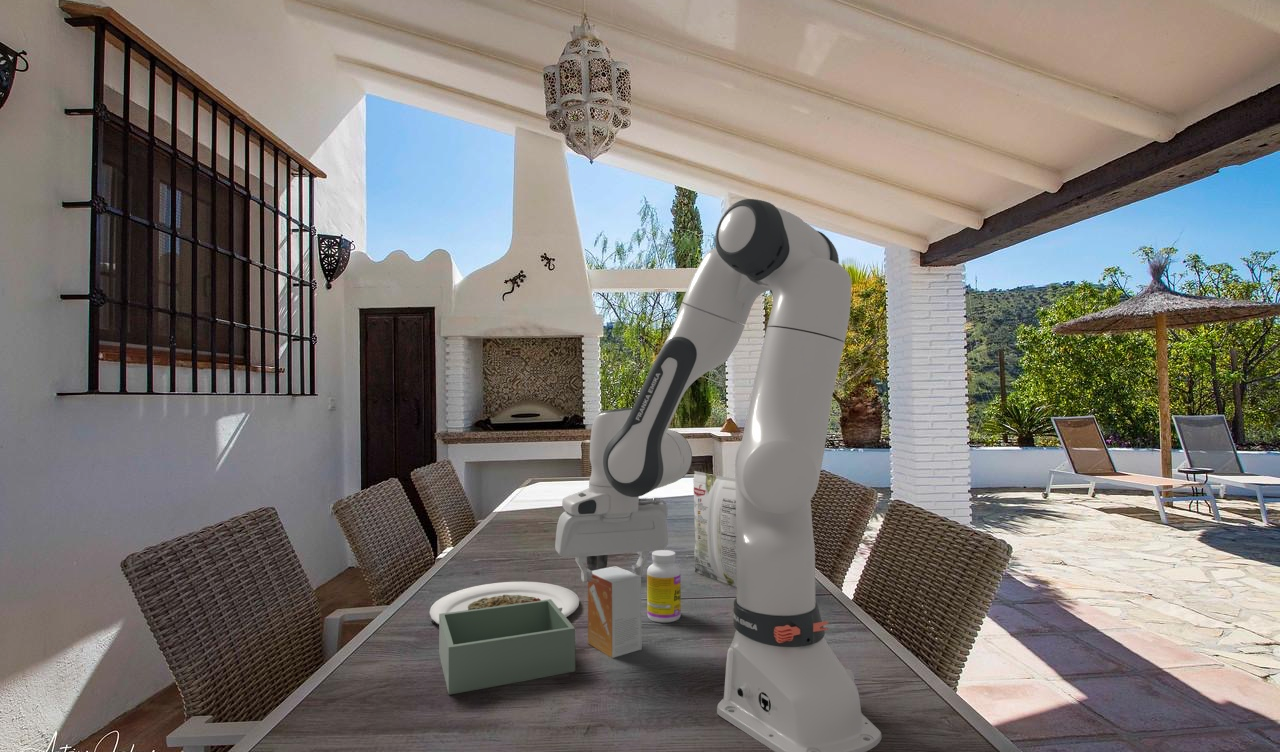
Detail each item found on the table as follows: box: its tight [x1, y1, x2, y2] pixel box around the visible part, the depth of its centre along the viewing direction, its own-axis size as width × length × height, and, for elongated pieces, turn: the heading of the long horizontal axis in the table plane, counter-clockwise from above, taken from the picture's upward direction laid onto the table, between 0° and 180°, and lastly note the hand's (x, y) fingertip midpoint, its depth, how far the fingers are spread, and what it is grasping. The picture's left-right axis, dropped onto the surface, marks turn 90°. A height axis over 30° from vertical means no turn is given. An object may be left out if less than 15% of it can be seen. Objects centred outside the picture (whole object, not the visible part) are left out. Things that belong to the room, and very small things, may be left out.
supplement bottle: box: [646, 549, 682, 624], centre depth 129 cm, size 7×7×13 cm
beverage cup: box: [586, 555, 609, 571], centre depth 161 cm, size 7×7×20 cm
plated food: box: [429, 581, 580, 625], centre depth 134 cm, size 30×30×3 cm
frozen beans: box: [692, 470, 737, 588], centre depth 152 cm, size 21×6×25 cm, turn 32°
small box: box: [587, 565, 643, 659], centre depth 114 cm, size 8×6×13 cm
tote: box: [438, 599, 576, 696], centre depth 108 cm, size 16×20×7 cm
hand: (612, 578), depth 114 cm, fingers open, 8 cm apart
